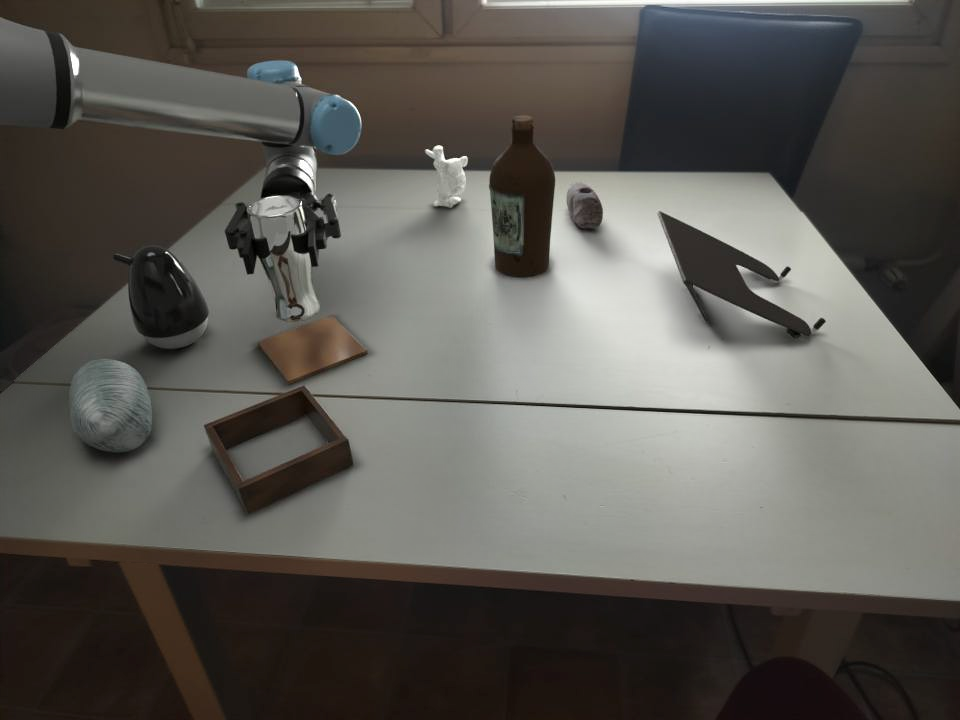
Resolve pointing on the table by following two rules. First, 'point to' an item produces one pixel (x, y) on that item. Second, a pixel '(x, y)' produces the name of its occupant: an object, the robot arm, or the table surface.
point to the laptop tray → (726, 274)
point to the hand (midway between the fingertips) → (280, 260)
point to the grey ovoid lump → (110, 406)
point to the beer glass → (284, 255)
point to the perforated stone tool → (584, 205)
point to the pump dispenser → (164, 298)
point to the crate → (290, 473)
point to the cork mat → (311, 349)
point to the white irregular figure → (448, 177)
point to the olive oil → (522, 204)
